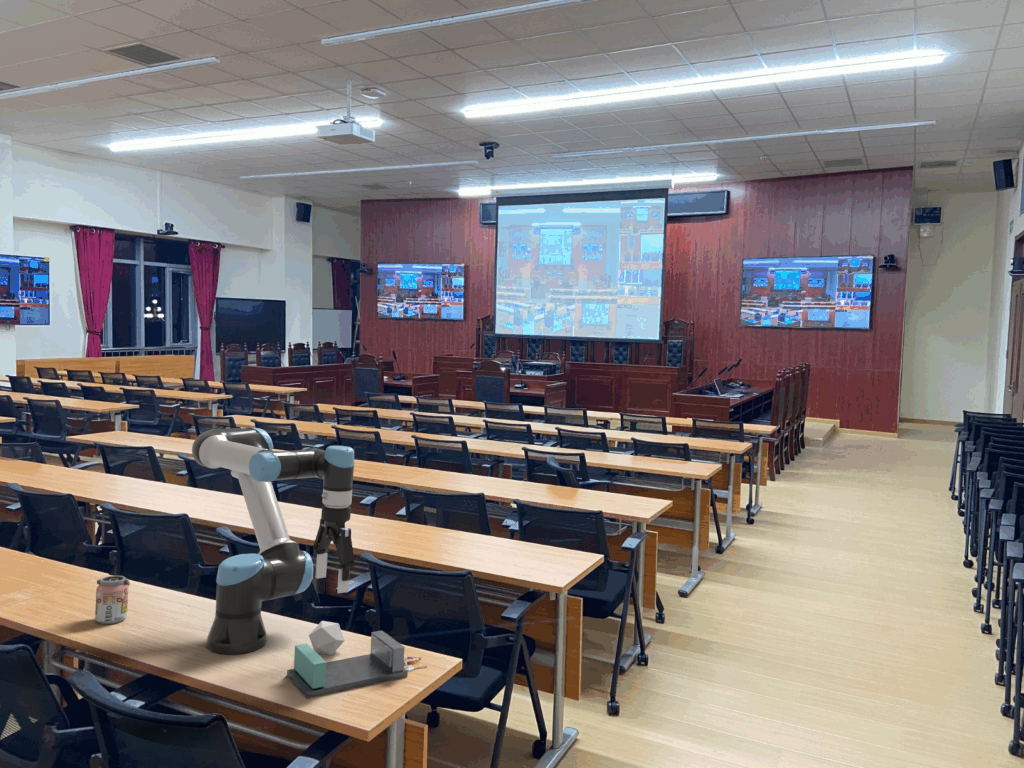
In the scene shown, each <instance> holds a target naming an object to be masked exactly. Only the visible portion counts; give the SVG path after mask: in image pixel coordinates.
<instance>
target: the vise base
mask: <svg viewBox="0 0 1024 768" xmlns="http://www.w3.org/2000/svg"><path fill="white" fill-rule="evenodd" d="M370 637H371V638H370V653H368V654H364V655H358V656H357V655H356V656H353V657H349V658H348V657H347V658H342V659H338V660H333V661H332V660H331V661H326V679H325V686H323V687H319V688H314V689H313V688H312V687H311V686H310V685H309V684H308V683H307V682H306V681H305V680H304V679H303V678H302V677H301V676H300V674H299V673H298V672H297V671H296V670H295V669H294V668H290V669H287V670H286V677H287V678H288V680H290V682H291V683H293V685H294V686H295V687H296V688H297V689H298V690H299V691H300V693H301V694H302V695H303V696H304V697H305V698H306V699H311V698H316V697H320V696H321V697H322V696H324V695H329V694H334V693H338V692H342V691H343V692H344V691H349V690H353V689H356V688H363V687H366V686H371V685H374V684H380V683H384V682H388V681H394V680H398V679H399V680H400V679H402V678H407V677H408V675H409V673H408V671H409V670H408V669H406V668H405V667H404V666H405V664H404V663H405V662H404V661H405V646H404V645H403V644H401V643H400V642H398V641H397V640H396V639H394V638H393V637H392V636H391V635H389V634H388V633H387V632H385V631H383V630H377V631H371V636H370Z"/></svg>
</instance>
